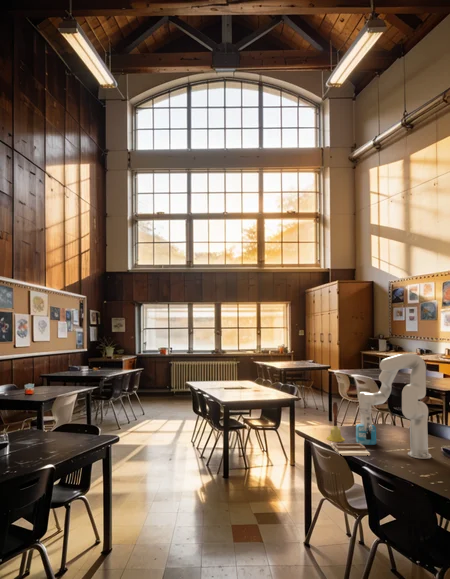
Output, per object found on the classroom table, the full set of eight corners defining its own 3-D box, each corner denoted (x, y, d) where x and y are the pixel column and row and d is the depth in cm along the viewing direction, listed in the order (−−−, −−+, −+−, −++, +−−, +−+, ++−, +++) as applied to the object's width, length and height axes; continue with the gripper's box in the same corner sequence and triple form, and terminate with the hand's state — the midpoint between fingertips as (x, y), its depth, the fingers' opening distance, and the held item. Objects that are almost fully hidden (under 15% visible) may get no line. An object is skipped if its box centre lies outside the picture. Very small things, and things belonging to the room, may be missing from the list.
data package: (357, 444, 283) (357, 425, 284) (356, 442, 287) (355, 424, 289) (376, 444, 282) (376, 425, 283) (374, 443, 287) (374, 424, 288)
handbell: (346, 442, 289) (345, 403, 291) (327, 441, 290) (326, 403, 292) (343, 437, 301) (342, 400, 303) (325, 437, 302) (324, 400, 305)
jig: (370, 455, 258) (370, 450, 258) (339, 455, 258) (339, 450, 258) (358, 445, 280) (357, 440, 280) (330, 445, 279) (330, 440, 280)
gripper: (375, 413, 278) (376, 441, 277) (366, 408, 296) (367, 434, 294) (364, 413, 278) (364, 441, 277) (355, 408, 295) (356, 434, 294)
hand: (366, 437), depth 285 cm, fingers open, 9 cm apart
